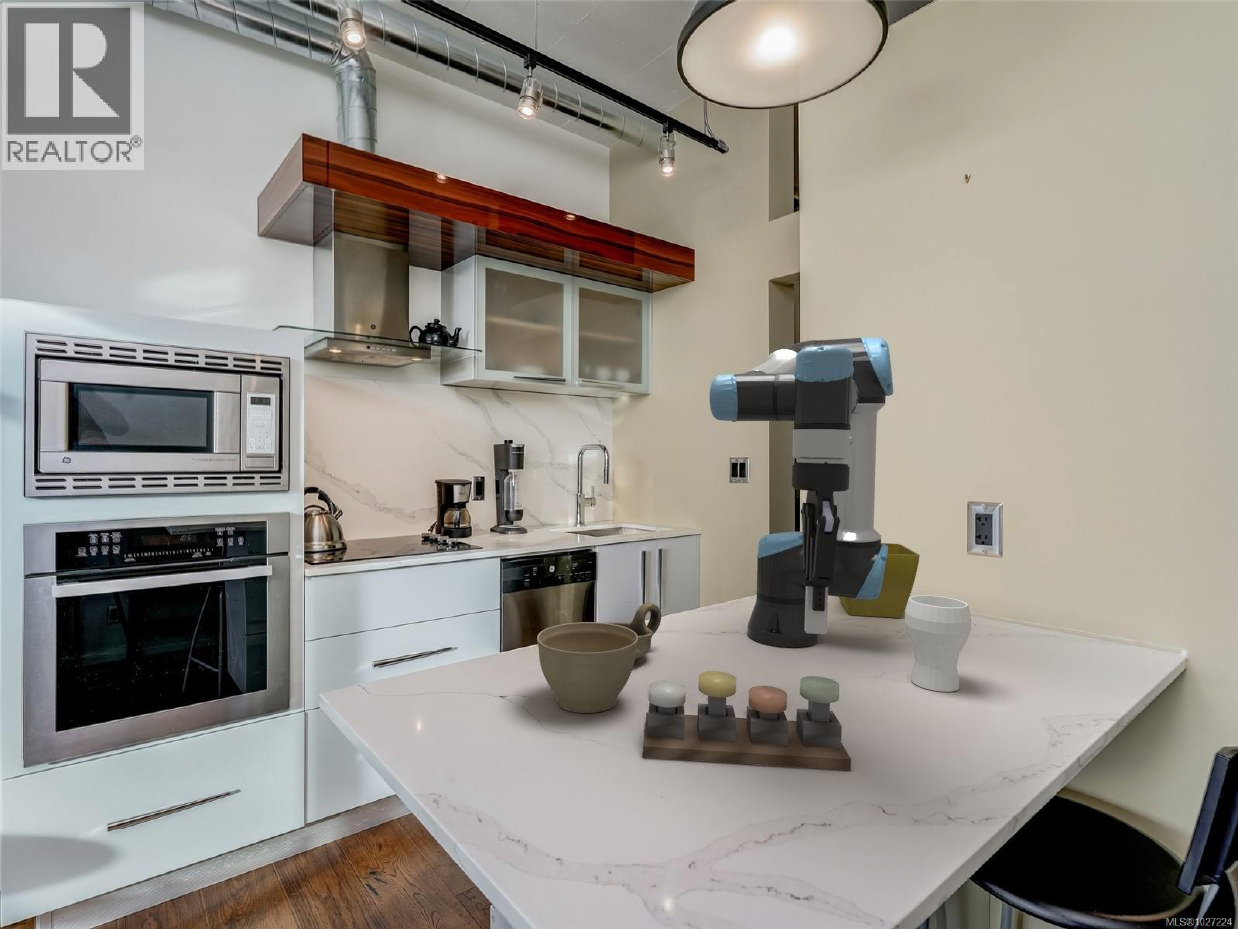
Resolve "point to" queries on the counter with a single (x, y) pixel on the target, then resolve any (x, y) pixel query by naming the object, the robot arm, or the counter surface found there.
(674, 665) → the counter surface
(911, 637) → the cup
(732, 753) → the panel
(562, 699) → the planter bowl
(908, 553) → the flower pot
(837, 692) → the sage button
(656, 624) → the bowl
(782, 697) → the terracotta button
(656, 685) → the grey button
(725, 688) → the ochre button
